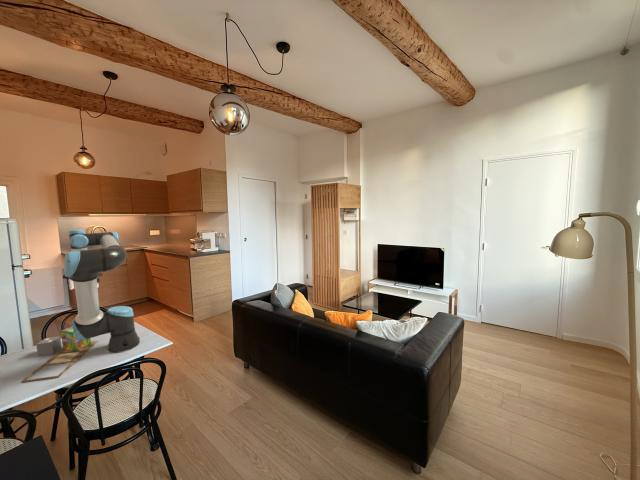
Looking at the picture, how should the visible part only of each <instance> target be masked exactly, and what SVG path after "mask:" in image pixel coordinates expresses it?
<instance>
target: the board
mask: <svg viewBox="0 0 640 480" xmlns="http://www.w3.org/2000/svg"><path fill="white" fill-rule="evenodd" d="M98 342H99V341H98V340H91V344H90V345H88V346H86V347H84V348H82V349H79V350H77V351H75V352H73V351H68V350H63V348H61V349H60V350H58V351H57V352H56V353H55V354H53V355H52V357H50V358H49V359H48V360H47V361H45V362H44V363H42V365H40V366H39V367H38V368H36V369H35V370H33V372H31V373H30V374H29V375H27V376H26V377H25V378H24V379H22V380H21V384H22V383H30V382H37V381H39V382H40V381H45V380H52V379H59V378H61V376H63V374H64V373H66V372H67V371H68V370H69V369H70V368H71V367H72V366H73V365H74V364H76V363H77V362H78V361H79V360H80V359H81V358H82V357H83V356H84V355H86V353H87V352H89V351H90V350H91V349H92V348H93V347H94V346H95V345H96V344H97V343H98ZM62 364H63V365H64V364H69V365H68V366H67V367H65V368H64V369H63V370H62V371H61V372H59V374H58V375H53V376H45V377H39V378H31V377H33V376H34V375H35V374H36V373H37V372H39V371H40V370H41V369H43V368H44V367H46V366H53V365H62Z"/></svg>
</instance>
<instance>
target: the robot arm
mask: <svg viewBox="0 0 640 480" xmlns="http://www.w3.org/2000/svg"><path fill="white" fill-rule="evenodd" d="M68 238H69V244H70V251H68V252H66V253H65V255H64V259H63V260H64V261H63V262H64V264H63V265H64V269H63V271H64V272H63V273H64V274H63V276H62V279H65V280H66V283H67V285H68V287H69V290H70V291H72V290H74V291H75V299H76V300H75V301H76V307H77V314H76V315H75V317H74V319H72V320H71V327H72V328H73V331H74V335H75V337H76V339H77V340H84V339H89V338H90V339H91V338H95V337H99V336H102V335H107V334H110V337H109V341H108V345H107V351H109V352H110V353H121V352H126V351H129V350H132V349H134V348H136V347H137V346H138V345H140V342H141V341H140V336H138V333H137V331H136V326H135V317H134V316H135V314H134V311H133V310H134V309H133V308H132V307H131V306H126V305H118V306H113V307H109V308H108V309H107V311H105V312H104V311H102V310H101V309H100V302H99V301H100V300H99V289H98V288H99V283H100V277H102V276H103V272H110V271H113V270H115V269H118V268H119V267H121V266H122V265H123V264H124V263H125V262H126V260H127V257H128V253H127V250H126V248H125V247H123V246H121V245H120V244H119V243H120V240H119V239H120V238H119V234H118V232H117V231H108V232H93V233H86V230H85V229H83V228H82V229H79V228H78V229H69V231H68ZM98 246H101V248H95V249H94V248H92V249H88V247H98Z"/></svg>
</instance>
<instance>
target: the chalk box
mask: <svg viewBox="0 0 640 480" xmlns="http://www.w3.org/2000/svg"><path fill="white" fill-rule="evenodd" d="M60 335H61V336H60V337H61V346H62V349H63V350H68V351H73V352H75V351H77V350H79V349H82V348H84V347H86V346H88V345H90V344H91V341H92V340H91V338H89V339H84V340H77V339H76V337H75V335H74V331H73V328H72V326H69V327H67V328H64V329H62V330H60Z"/></svg>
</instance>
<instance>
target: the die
mask: <svg viewBox="0 0 640 480" xmlns="http://www.w3.org/2000/svg"><path fill="white" fill-rule="evenodd" d="M35 345H36V352H37V357H40V356H41V357H43V356H51V354H52V355H55V354H57V353H58V352H59V351H61V350H62V349H63V345H62V338H61V336H53V337H51V336H50V337H45V338H43V339H42V340H40V341H39V342H37V343H36V344H35ZM54 353H55V354H54ZM42 355H43V356H42Z"/></svg>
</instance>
